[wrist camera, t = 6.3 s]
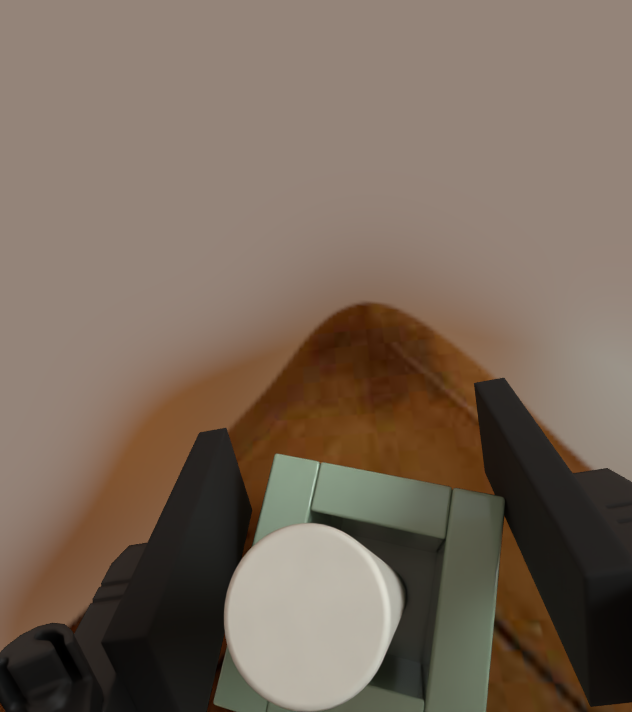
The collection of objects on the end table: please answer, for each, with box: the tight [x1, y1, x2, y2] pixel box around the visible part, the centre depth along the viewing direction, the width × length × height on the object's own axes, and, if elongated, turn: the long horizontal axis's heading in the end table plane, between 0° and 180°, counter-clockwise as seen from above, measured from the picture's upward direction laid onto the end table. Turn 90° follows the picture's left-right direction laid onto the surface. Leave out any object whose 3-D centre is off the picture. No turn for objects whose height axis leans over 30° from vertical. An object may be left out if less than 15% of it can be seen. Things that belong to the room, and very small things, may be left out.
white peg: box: [224, 523, 407, 712], centre depth 12 cm, size 2×2×13 cm
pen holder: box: [214, 454, 505, 712], centre depth 15 cm, size 6×6×6 cm
